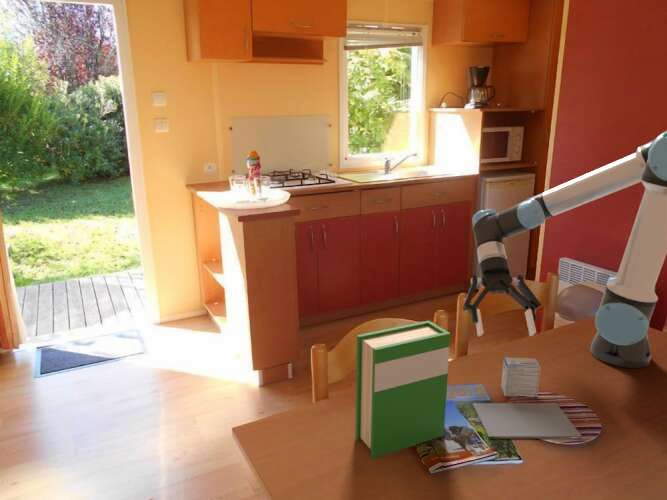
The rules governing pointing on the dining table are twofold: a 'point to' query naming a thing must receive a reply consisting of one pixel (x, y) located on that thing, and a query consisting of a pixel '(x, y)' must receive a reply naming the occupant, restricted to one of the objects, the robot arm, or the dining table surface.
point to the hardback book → (401, 386)
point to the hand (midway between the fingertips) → (506, 334)
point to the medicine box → (520, 377)
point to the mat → (525, 420)
